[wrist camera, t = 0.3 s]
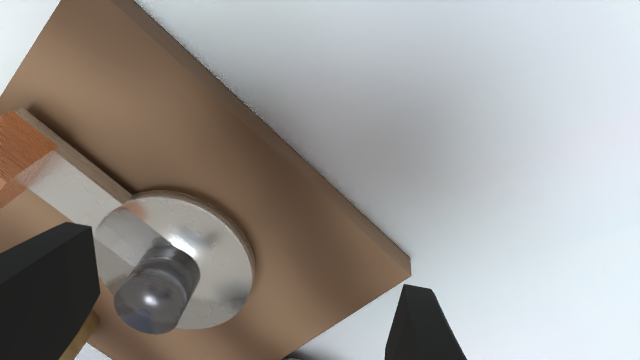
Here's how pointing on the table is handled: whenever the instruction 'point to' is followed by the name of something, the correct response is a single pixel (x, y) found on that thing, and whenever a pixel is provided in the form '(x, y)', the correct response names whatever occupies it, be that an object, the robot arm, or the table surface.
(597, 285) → the table surface
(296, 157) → the walnut board
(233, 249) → the dial plate
